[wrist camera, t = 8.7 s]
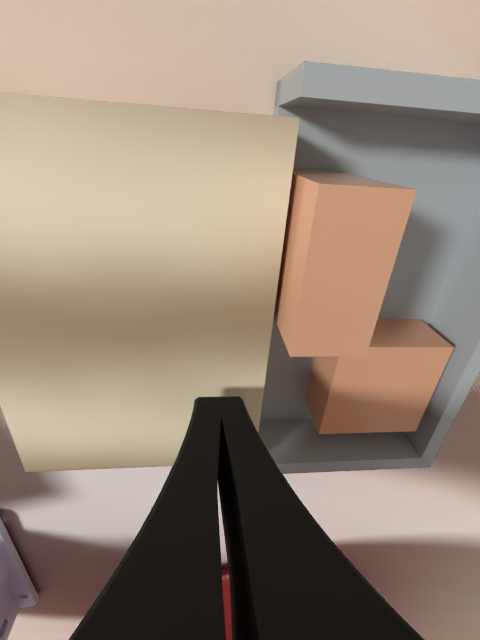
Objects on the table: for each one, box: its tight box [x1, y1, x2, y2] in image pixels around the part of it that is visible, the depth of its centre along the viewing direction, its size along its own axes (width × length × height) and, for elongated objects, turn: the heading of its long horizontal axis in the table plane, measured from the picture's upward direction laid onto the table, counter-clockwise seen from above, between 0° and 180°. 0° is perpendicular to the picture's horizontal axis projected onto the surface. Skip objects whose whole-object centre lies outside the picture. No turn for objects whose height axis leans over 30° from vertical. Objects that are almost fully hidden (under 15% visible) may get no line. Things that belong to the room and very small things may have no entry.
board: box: [0, 92, 300, 472], centre depth 10 cm, size 11×8×3 cm
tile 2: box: [274, 168, 417, 357], centre depth 9 cm, size 4×4×2 cm
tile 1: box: [305, 318, 454, 434], centre depth 13 cm, size 4×4×2 cm
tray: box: [258, 61, 480, 474], centre depth 11 cm, size 13×8×3 cm, turn 176°
